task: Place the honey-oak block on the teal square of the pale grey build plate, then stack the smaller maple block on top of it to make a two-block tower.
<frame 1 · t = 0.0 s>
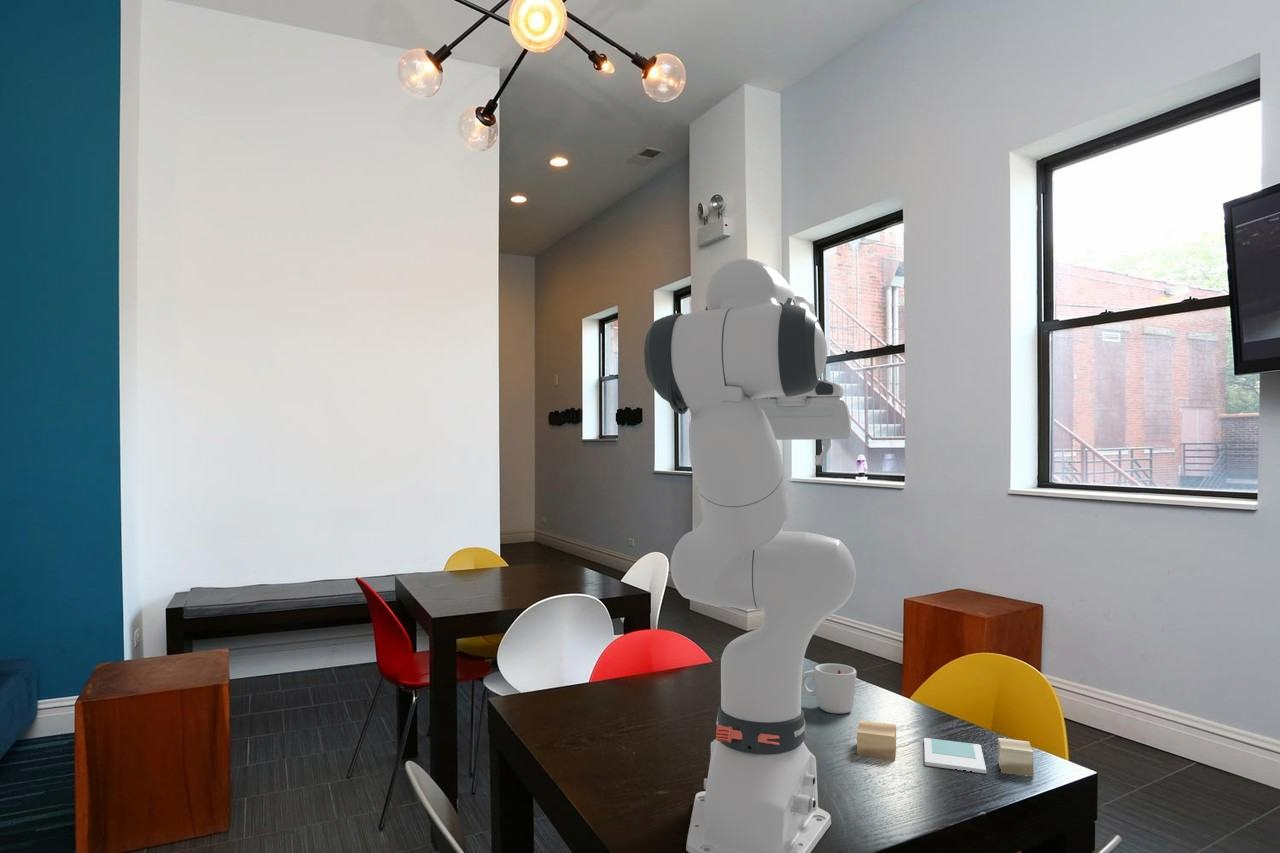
hand: (793, 465, 134), 48 cm above the table, tool pointing down, fingers open, 8 cm apart
oak block: (877, 752, 126), on the table
build plate: (953, 756, 123), on the table
maple block: (1015, 770, 118), on the table
cup: (828, 709, 147), on the table
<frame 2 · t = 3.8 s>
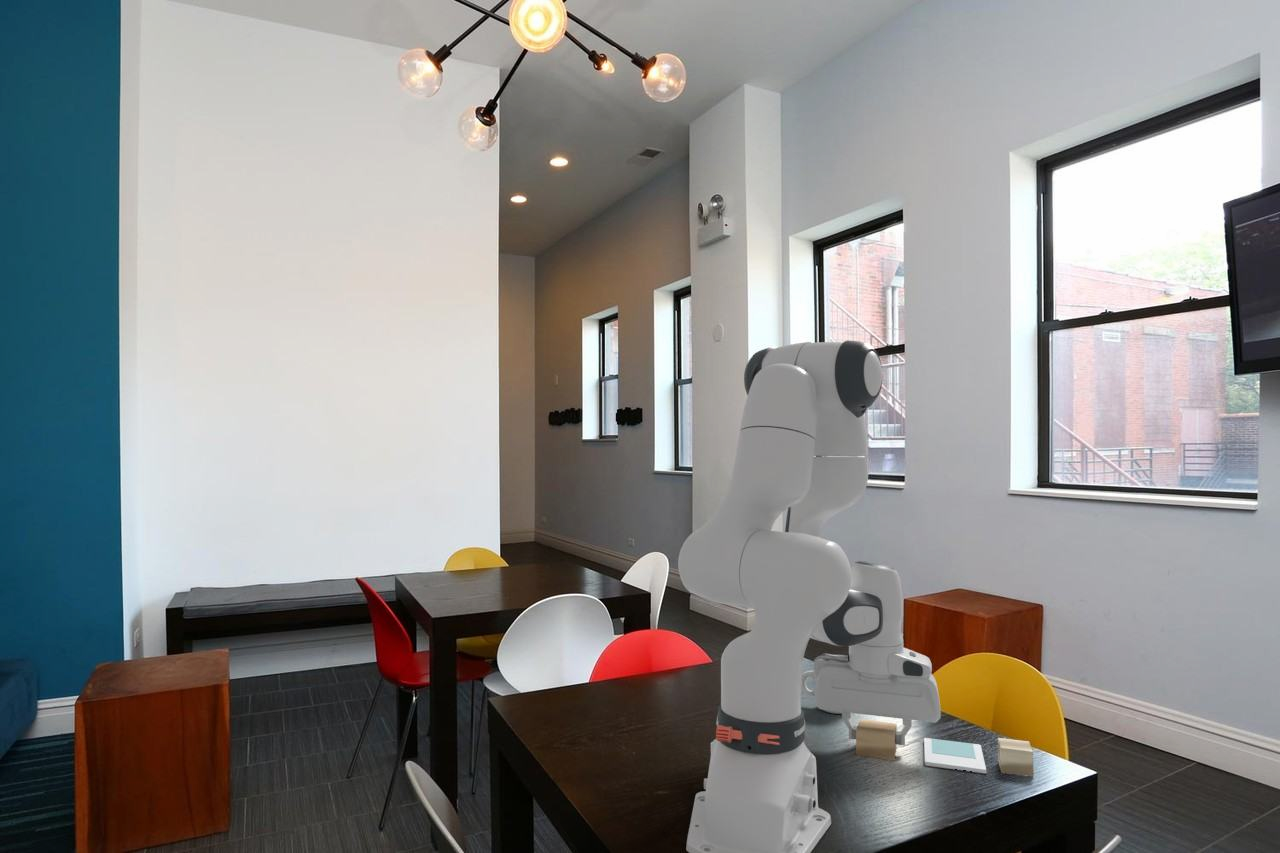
hand: (876, 741, 126), 2 cm above the table, tool pointing down, fingers closed on oak block, 6 cm apart
oak block: (876, 751, 126), on the table, touching gripper
everything else where it was.
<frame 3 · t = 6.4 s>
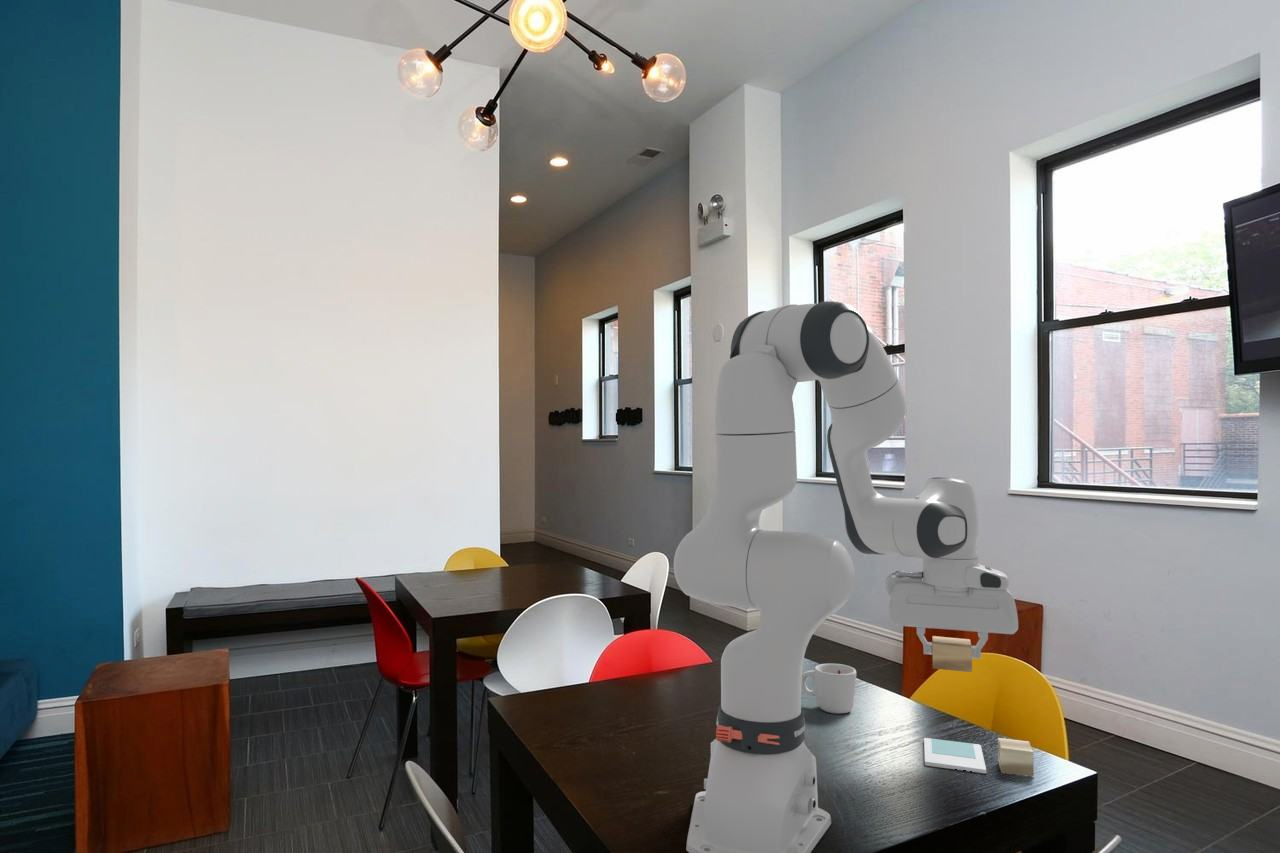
hand: (951, 655, 126), 16 cm above the table, tool pointing down, fingers closed on oak block, 6 cm apart
oak block: (951, 665, 126), point 14 cm above the table, touching gripper
everything else where it was.
when the fingers open (3 cm above the table, at t = 9.1 s): oak block stays where it is, resting on build plate.
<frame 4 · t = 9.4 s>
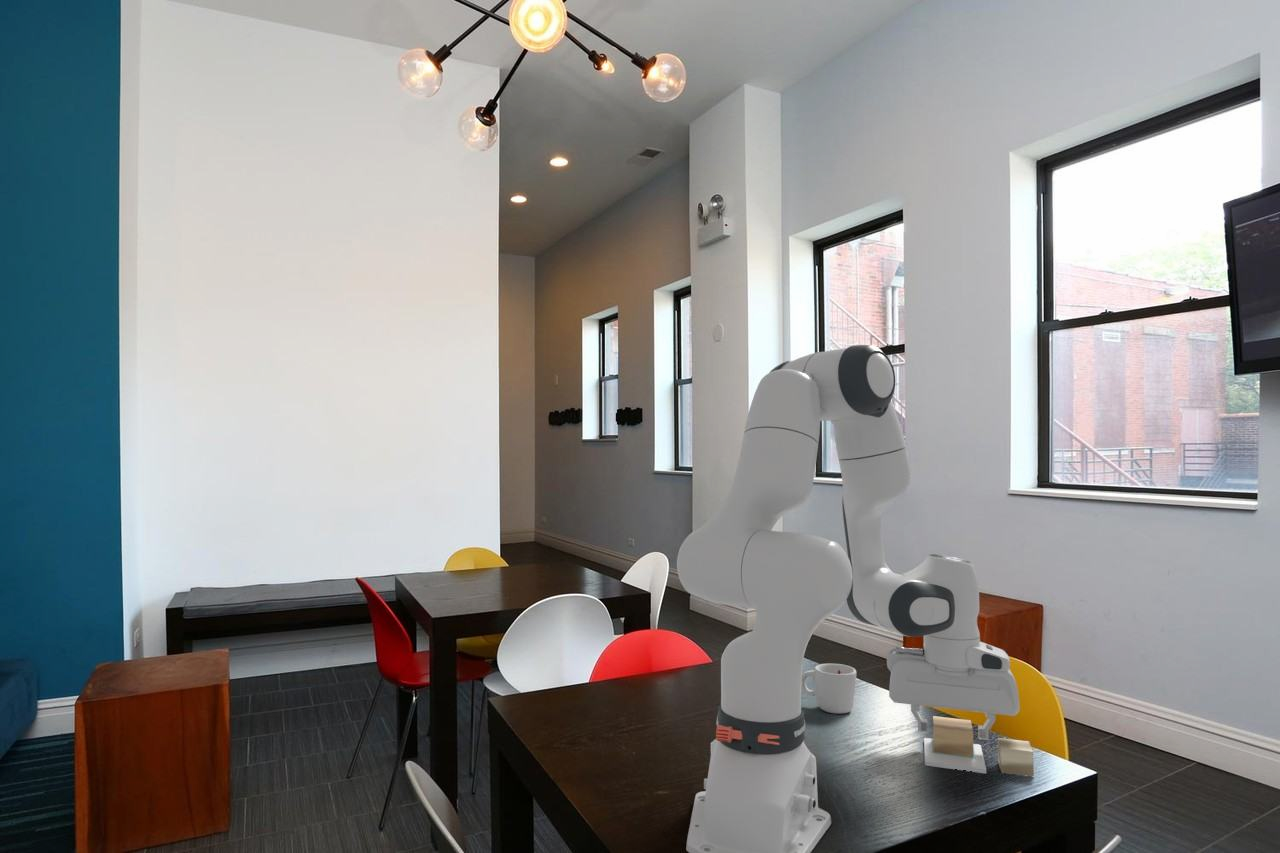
hand: (952, 734, 125), 3 cm above the table, tool pointing down, fingers open, 8 cm apart
oak block: (952, 748, 125), point 1 cm above the table, touching build plate
everything else where it was.
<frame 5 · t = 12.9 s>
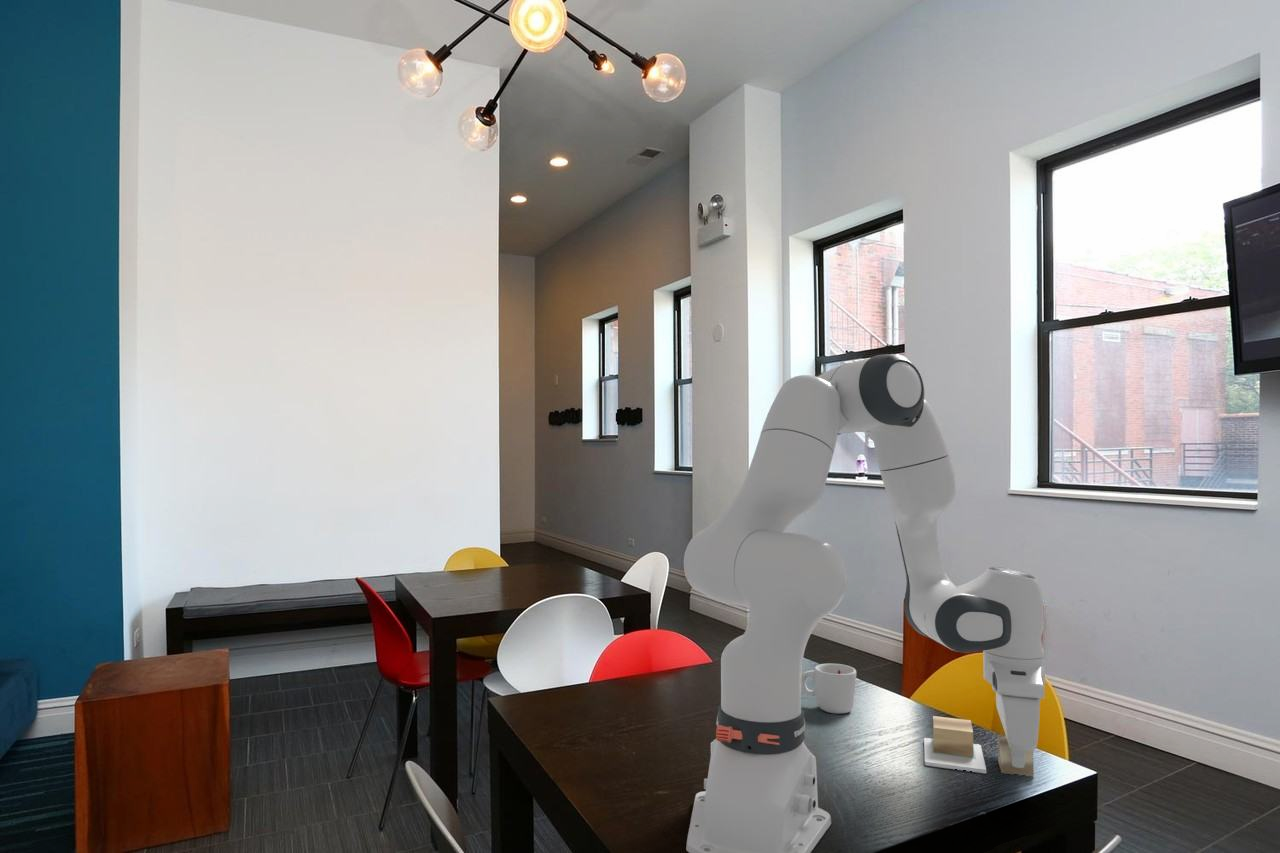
hand: (1015, 758, 119), 2 cm above the table, tool pointing down, fingers closed on maple block, 4 cm apart
maple block: (1015, 769, 119), on the table, touching gripper
everything else where it was.
when the fingers open (7 cm above the table, at t = 18.4 s): maple block stays where it is, resting on oak block.
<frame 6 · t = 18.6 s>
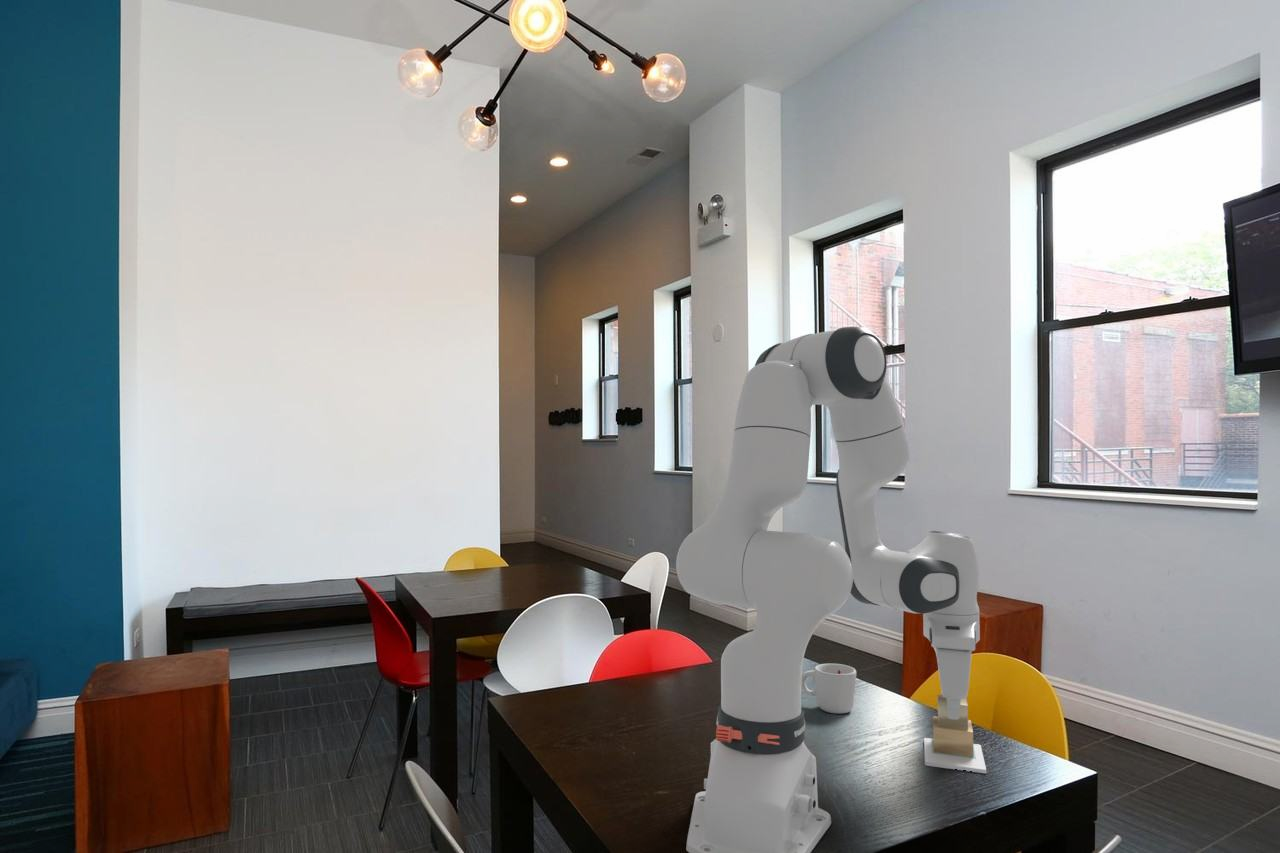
hand: (952, 710, 126), 7 cm above the table, tool pointing down, fingers open, 6 cm apart
oak block: (952, 748, 125), point 1 cm above the table, touching build plate, maple block
maple block: (952, 724, 126), point 5 cm above the table, touching oak block
everything else where it was.
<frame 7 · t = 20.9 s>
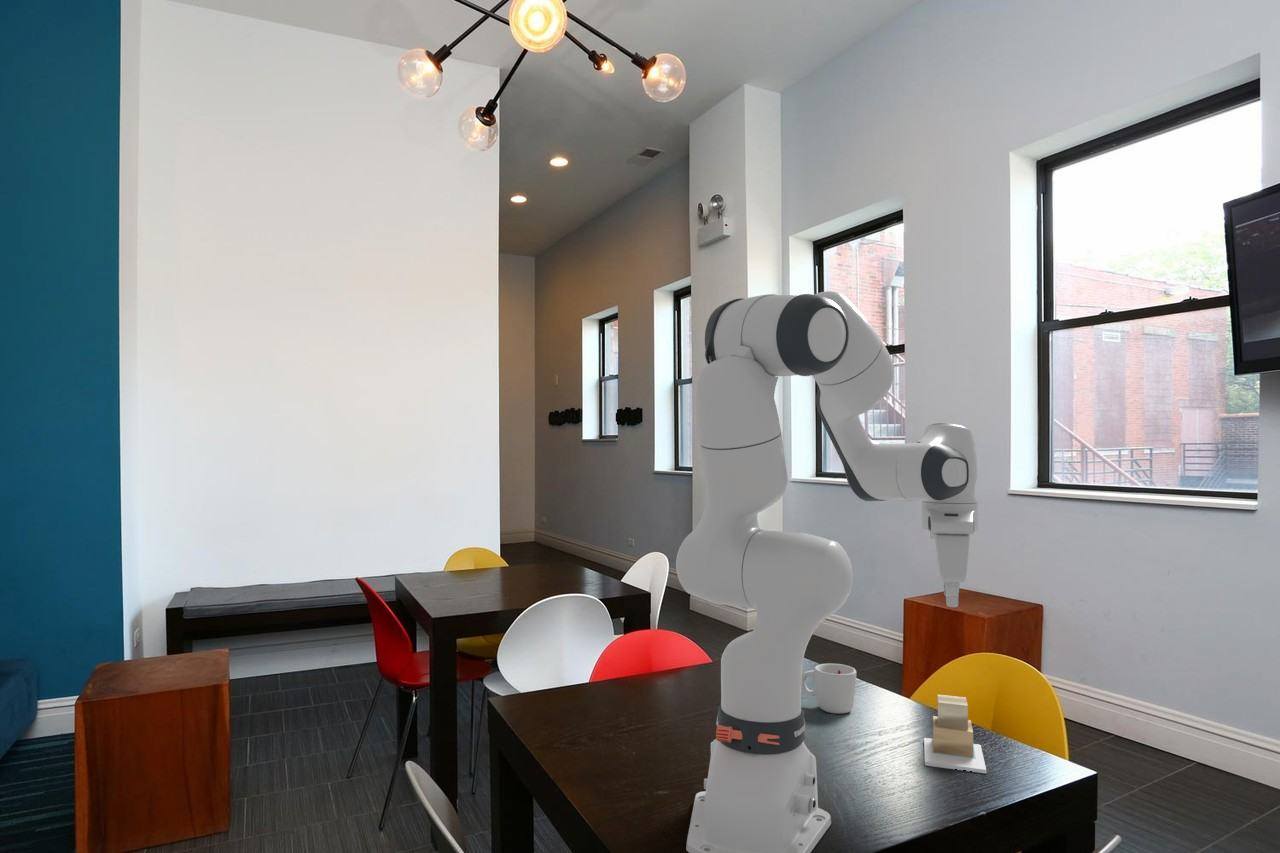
hand: (950, 601, 126), 25 cm above the table, tool pointing down, fingers open, 8 cm apart
nothing on the table moved.
at the end: oak block 0.0 cm from the target spot, point 0.7 cm above the table; maple block 0.1 cm off-centre on the oak block, point 4.0 cm above the oak block's base; maple block tilted 0° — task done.
